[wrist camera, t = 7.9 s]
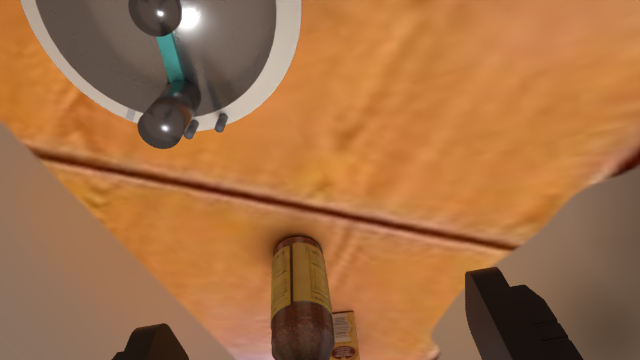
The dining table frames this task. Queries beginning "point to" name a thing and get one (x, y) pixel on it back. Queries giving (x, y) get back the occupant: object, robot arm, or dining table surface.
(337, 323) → the candy box
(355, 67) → the dining table surface
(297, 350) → the sauce bottle
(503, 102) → the dining table surface
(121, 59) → the capstan
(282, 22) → the stand
